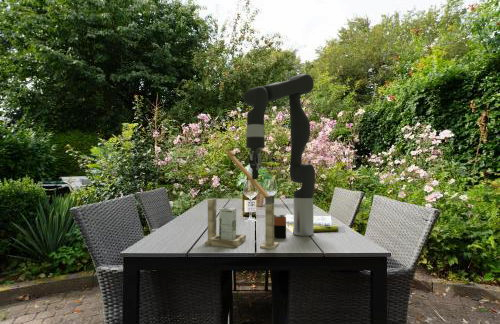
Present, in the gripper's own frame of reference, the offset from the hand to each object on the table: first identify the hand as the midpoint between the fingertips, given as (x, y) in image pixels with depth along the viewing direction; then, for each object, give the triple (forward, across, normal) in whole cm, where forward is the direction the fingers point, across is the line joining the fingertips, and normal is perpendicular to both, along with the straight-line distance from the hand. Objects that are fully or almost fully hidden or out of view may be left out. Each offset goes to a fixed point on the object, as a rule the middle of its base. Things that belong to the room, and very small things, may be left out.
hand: (255, 179), depth 128 cm
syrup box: (+27, 0, +12) cm, 29 cm away
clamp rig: (+27, 0, +6) cm, 27 cm away
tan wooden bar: (-1, 0, +3) cm, 3 cm away
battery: (+27, +17, -6) cm, 32 cm away
